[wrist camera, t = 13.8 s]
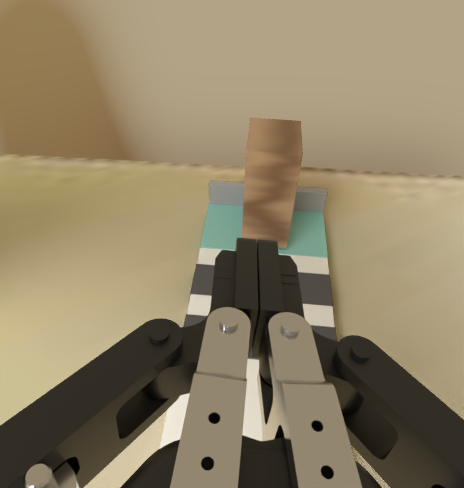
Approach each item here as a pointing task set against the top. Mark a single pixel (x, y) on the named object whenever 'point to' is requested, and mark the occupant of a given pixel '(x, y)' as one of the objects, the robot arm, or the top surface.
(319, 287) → the track
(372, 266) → the top surface
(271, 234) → the slider block
